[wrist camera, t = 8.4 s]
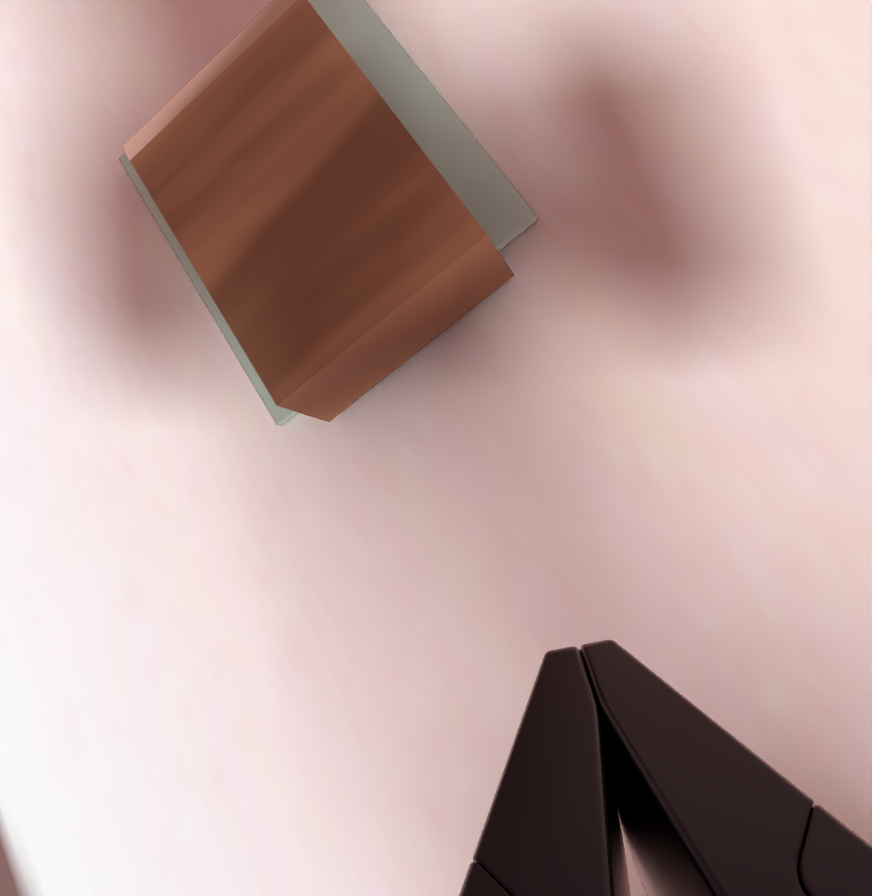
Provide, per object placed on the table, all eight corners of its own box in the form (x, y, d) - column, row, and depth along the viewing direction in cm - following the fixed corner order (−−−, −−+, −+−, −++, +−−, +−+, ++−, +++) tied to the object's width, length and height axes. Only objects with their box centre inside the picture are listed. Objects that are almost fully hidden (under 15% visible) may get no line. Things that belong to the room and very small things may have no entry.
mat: (538, 219, 21) (536, 215, 21) (281, 426, 23) (276, 424, 23) (333, -38, 24) (329, -45, 24) (124, 163, 26) (118, 159, 26)
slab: (486, 234, 18) (292, -19, 21) (276, 405, 19) (121, 146, 22) (514, 275, 21) (340, 47, 24) (329, 422, 22) (185, 190, 25)
